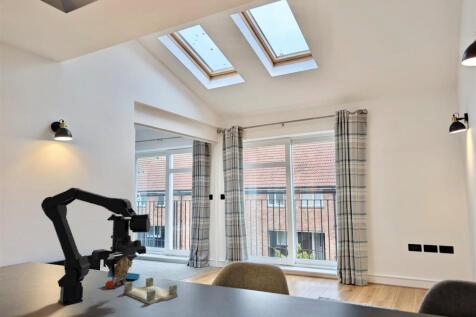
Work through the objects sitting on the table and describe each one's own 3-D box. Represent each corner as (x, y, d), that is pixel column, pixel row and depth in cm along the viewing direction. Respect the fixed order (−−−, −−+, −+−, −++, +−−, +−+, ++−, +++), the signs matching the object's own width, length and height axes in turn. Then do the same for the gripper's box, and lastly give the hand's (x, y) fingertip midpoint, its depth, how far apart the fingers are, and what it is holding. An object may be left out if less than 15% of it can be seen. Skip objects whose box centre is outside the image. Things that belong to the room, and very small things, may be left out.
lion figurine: (136, 281, 114) (133, 255, 116) (121, 284, 110) (119, 257, 112) (117, 283, 124) (115, 259, 126) (103, 286, 120) (102, 261, 122)
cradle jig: (149, 304, 112) (149, 292, 113) (123, 293, 125) (123, 282, 126) (177, 296, 121) (177, 285, 122) (150, 286, 134) (150, 277, 135)
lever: (124, 289, 148) (99, 288, 132) (127, 273, 150) (103, 270, 134) (137, 290, 146) (113, 289, 130) (140, 274, 148) (117, 271, 132)
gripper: (105, 236, 107) (103, 285, 105) (154, 232, 120) (153, 275, 118) (91, 234, 114) (89, 279, 112) (139, 230, 128) (137, 270, 126)
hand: (119, 276), depth 117 cm, fingers closed on lion figurine, 4 cm apart
